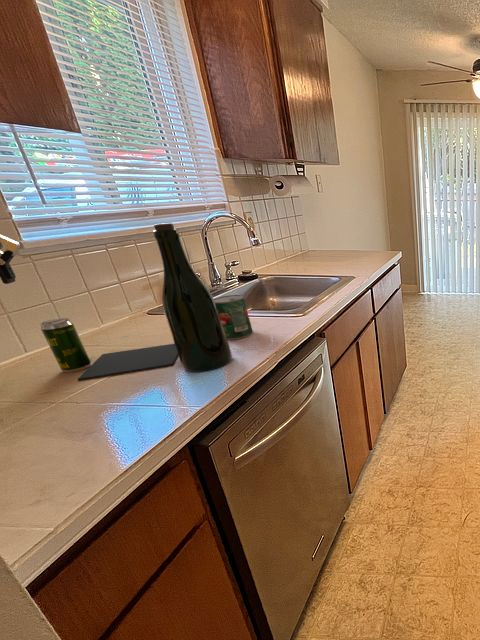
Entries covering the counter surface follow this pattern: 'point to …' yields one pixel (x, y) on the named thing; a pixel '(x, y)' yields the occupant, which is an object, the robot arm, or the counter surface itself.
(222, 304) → the canned tomato
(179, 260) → the green wine bottle
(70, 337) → the beer can
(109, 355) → the rubber mat
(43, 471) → the counter surface
